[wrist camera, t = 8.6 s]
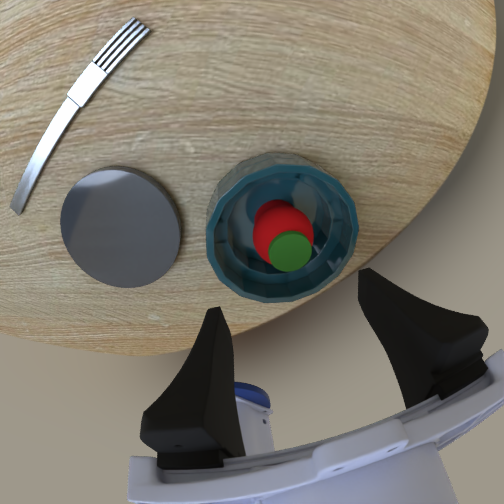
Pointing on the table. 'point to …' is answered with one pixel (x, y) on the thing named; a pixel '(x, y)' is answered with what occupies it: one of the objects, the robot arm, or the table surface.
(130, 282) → the plate
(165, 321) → the table surface
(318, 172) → the bowl
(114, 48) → the fork
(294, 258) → the strawberry
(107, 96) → the table surface
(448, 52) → the table surface
